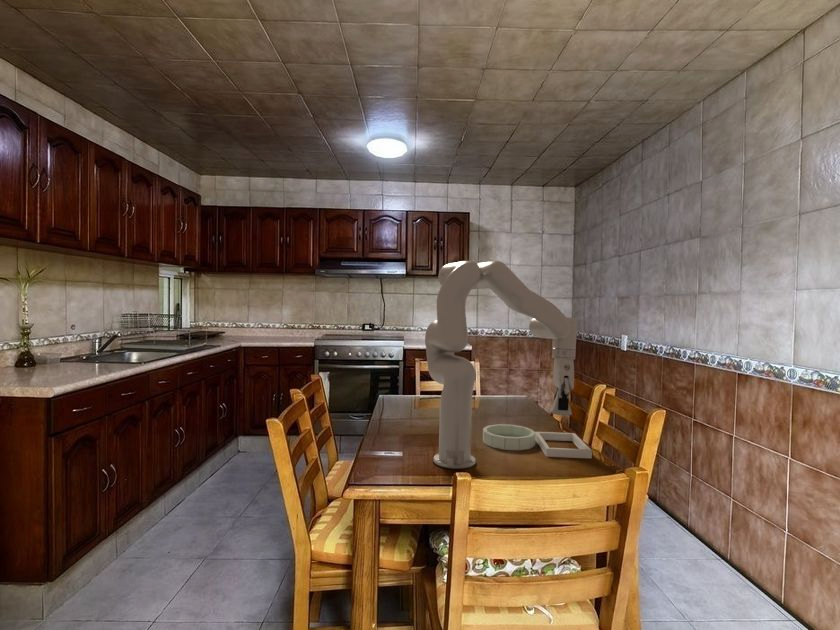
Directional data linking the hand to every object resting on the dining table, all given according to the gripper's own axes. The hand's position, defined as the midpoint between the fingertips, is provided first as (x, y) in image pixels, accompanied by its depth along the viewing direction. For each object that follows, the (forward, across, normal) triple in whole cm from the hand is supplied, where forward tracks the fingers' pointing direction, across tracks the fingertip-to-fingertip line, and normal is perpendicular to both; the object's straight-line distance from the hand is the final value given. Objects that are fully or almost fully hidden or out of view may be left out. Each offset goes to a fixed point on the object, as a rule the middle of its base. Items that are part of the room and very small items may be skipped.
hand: (560, 407), depth 155 cm
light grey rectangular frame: (+13, 0, -1) cm, 14 cm away
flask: (+2, 0, 0) cm, 2 cm away
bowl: (+14, +4, +16) cm, 22 cm away
